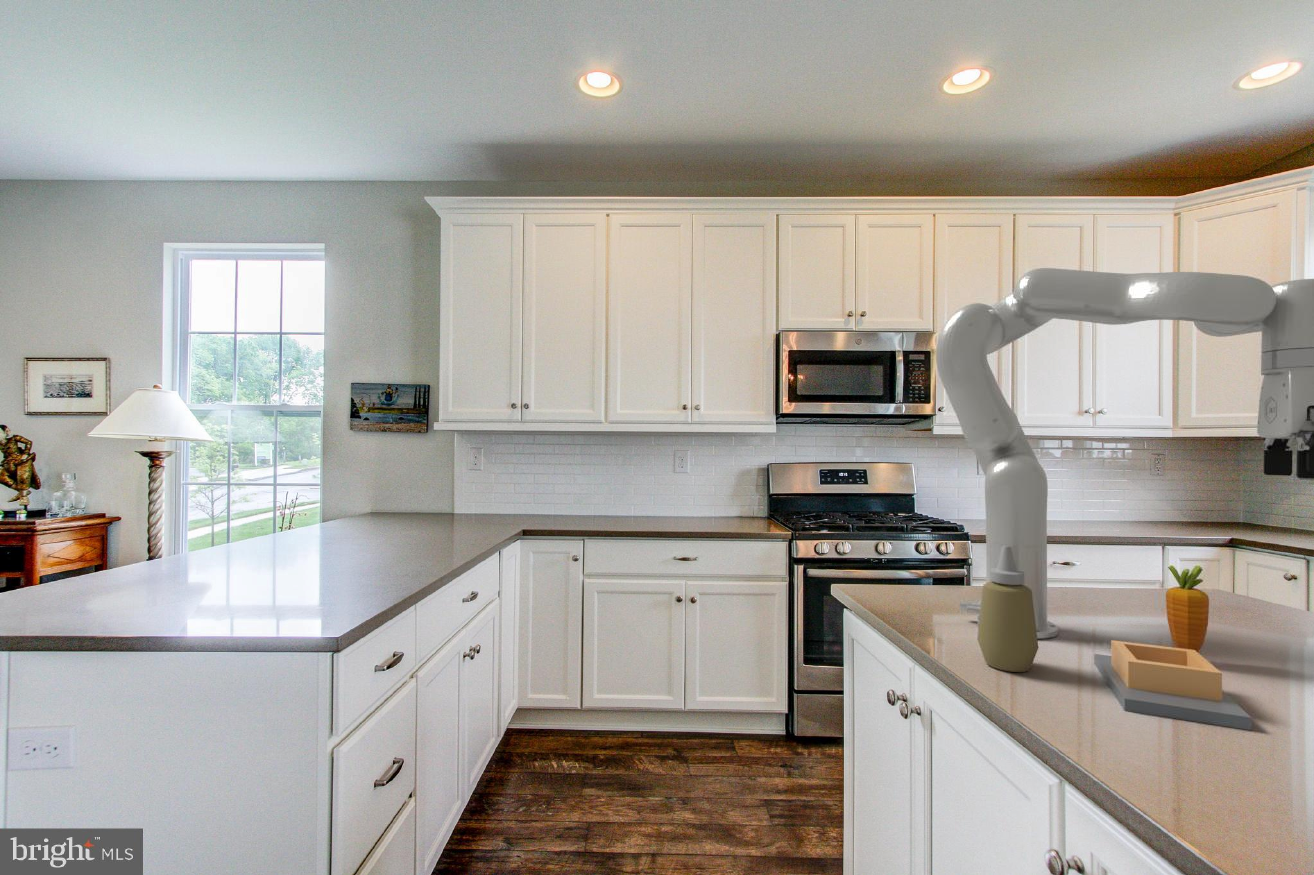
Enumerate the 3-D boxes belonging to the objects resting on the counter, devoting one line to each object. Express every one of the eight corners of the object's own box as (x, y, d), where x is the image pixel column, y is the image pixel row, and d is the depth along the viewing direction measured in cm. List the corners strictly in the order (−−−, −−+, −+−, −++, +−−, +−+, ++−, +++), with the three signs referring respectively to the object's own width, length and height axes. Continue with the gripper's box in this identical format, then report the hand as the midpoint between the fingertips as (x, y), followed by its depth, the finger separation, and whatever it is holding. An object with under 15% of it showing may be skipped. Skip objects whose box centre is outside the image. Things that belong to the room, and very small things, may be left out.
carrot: (1157, 657, 95) (1157, 561, 95) (1186, 656, 95) (1186, 561, 95) (1188, 668, 90) (1187, 568, 90) (1218, 667, 90) (1217, 567, 90)
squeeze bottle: (1031, 660, 93) (1030, 544, 94) (1045, 679, 86) (1045, 552, 86) (973, 654, 96) (972, 541, 96) (982, 672, 88) (981, 549, 89)
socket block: (1124, 710, 76) (1124, 670, 76) (1094, 663, 92) (1094, 630, 92) (1251, 730, 70) (1251, 687, 71) (1195, 676, 87) (1195, 642, 87)
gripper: (1237, 370, 100) (1236, 473, 100) (1293, 357, 85) (1290, 478, 85) (1299, 369, 97) (1297, 475, 97) (1367, 355, 82) (1365, 481, 82)
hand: (1294, 476), depth 91 cm, fingers open, 9 cm apart
